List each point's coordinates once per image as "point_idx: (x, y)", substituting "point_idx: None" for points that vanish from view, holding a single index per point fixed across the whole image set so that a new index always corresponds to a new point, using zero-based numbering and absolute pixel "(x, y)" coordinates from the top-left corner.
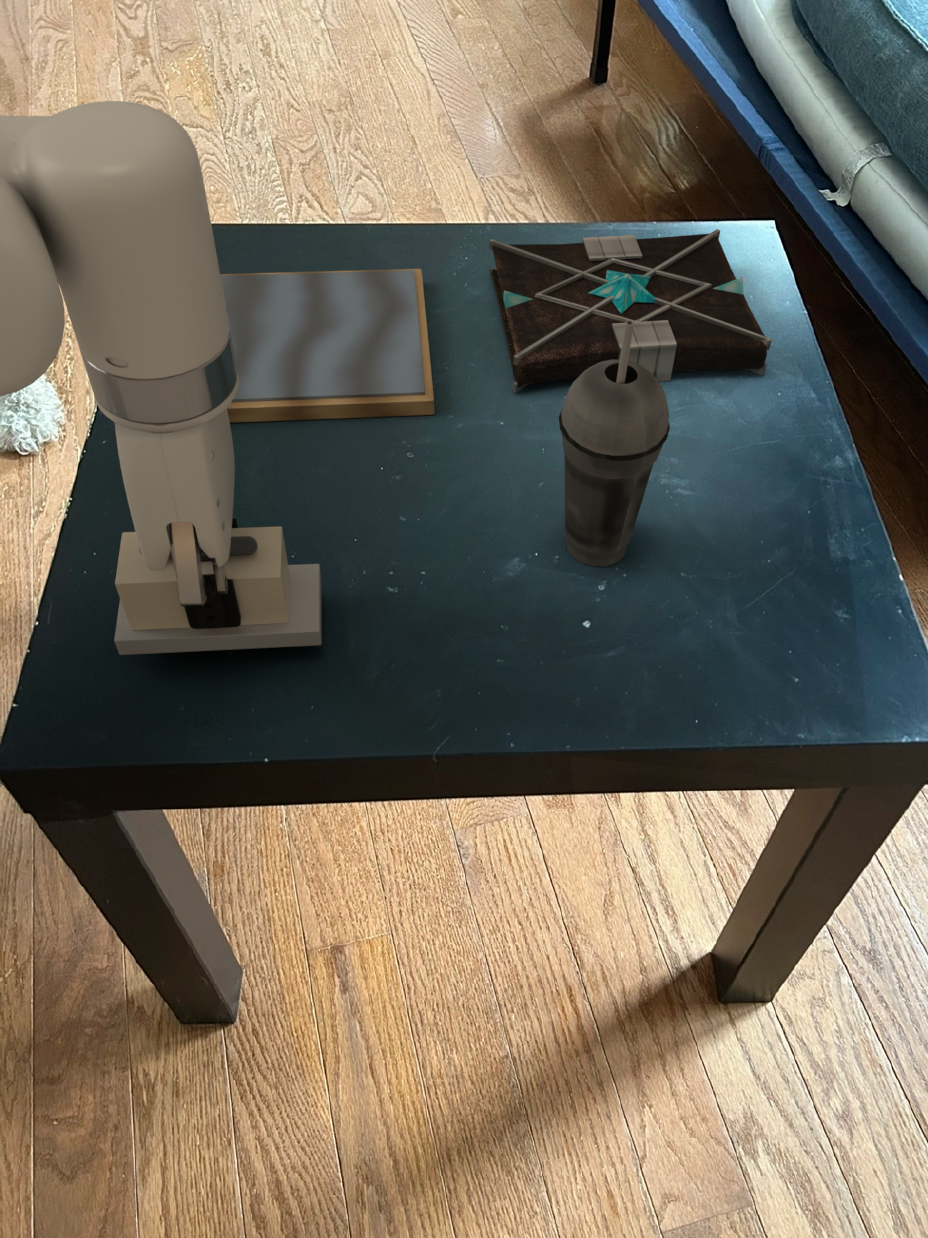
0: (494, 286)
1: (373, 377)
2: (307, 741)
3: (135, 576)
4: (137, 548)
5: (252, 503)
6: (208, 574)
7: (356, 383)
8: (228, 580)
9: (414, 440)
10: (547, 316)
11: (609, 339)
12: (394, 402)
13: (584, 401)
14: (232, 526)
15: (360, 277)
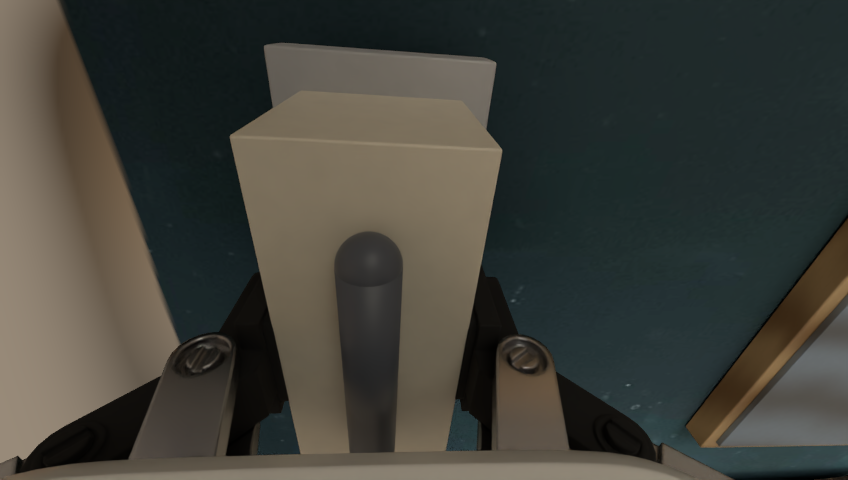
0: (840, 477)
1: (784, 409)
2: (187, 312)
3: (276, 205)
4: (412, 204)
5: (640, 253)
6: (247, 414)
7: (788, 394)
8: (276, 407)
9: (656, 410)
10: None
11: None
12: (724, 418)
13: None
14: (462, 398)
15: None
